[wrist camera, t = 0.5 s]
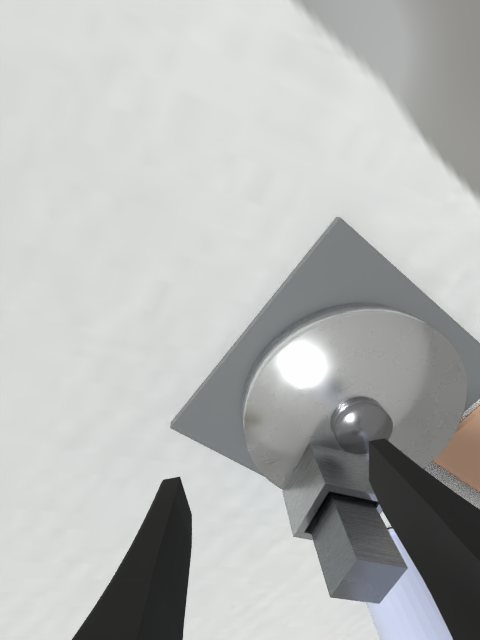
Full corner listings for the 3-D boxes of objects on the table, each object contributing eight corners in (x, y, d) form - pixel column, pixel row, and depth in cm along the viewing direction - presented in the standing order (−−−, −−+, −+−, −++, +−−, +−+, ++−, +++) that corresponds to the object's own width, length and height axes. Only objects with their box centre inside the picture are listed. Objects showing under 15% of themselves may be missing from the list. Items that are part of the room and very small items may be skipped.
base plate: (503, 366, 24) (510, 370, 23) (342, 511, 28) (344, 518, 27) (336, 216, 18) (340, 217, 18) (171, 422, 23) (170, 427, 22)
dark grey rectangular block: (315, 456, 21) (357, 559, 15) (353, 465, 22) (408, 568, 16) (297, 488, 22) (330, 597, 16) (334, 495, 23) (379, 603, 17)
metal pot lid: (292, 270, 18) (320, 294, 14) (486, 340, 21) (566, 381, 17) (212, 457, 23) (213, 525, 18) (381, 494, 26) (420, 560, 21)
